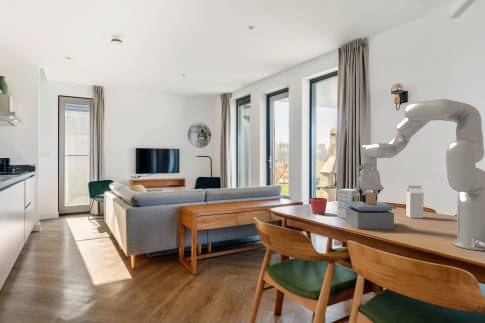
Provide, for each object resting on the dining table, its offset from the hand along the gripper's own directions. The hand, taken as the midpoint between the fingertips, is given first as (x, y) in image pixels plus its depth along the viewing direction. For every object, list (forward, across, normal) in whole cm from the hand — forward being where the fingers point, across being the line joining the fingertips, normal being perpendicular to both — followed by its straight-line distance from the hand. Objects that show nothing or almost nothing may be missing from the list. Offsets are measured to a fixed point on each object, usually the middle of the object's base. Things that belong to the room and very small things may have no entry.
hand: (369, 202), depth 159 cm
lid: (+3, 0, 0) cm, 3 cm away
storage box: (+12, 0, 0) cm, 12 cm away
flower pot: (+12, -19, +32) cm, 40 cm away
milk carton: (+13, +36, +22) cm, 44 cm away
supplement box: (+12, -4, +20) cm, 24 cm away
